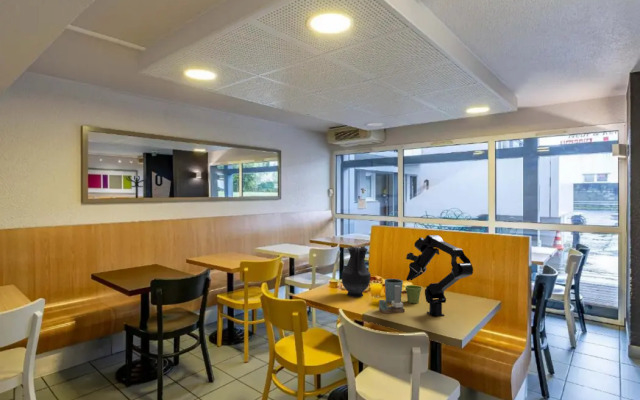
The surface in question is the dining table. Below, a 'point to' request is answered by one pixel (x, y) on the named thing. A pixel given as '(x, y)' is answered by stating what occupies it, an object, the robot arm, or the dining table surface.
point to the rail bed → (389, 308)
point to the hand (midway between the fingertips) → (408, 279)
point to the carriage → (397, 297)
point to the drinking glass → (392, 289)
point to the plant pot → (413, 293)
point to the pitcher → (356, 273)
